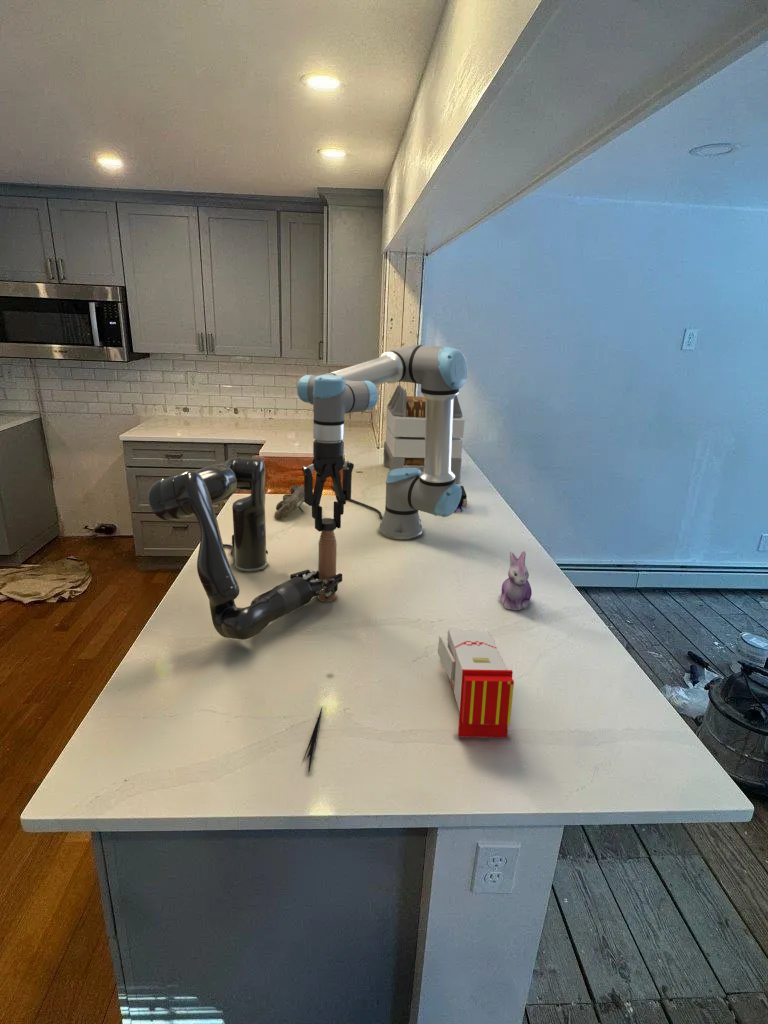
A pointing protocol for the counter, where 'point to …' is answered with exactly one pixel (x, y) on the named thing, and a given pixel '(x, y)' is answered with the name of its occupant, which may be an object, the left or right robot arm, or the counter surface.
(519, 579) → the figurine
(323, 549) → the bottle
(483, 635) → the toy
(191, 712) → the counter surface
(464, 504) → the figurine character
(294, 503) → the fossil
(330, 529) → the cap
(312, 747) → the feather
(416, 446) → the stacked slatted crates
